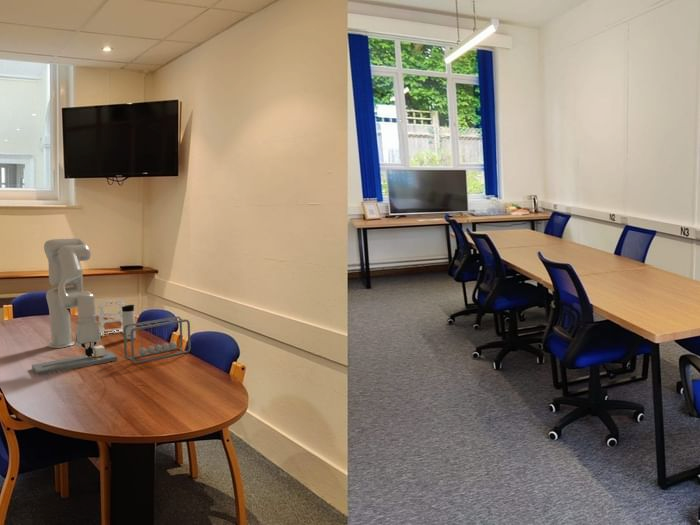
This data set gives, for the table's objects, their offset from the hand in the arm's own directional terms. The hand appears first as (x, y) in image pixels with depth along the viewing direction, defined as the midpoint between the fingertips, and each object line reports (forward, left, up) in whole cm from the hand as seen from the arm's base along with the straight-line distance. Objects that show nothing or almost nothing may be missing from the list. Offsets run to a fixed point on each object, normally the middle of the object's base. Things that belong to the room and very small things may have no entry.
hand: (89, 355), depth 246 cm
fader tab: (0, +5, -1) cm, 5 cm away
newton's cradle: (+13, +29, -3) cm, 32 cm away
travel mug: (-30, +29, -3) cm, 42 cm away
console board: (0, -6, -3) cm, 7 cm away
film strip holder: (-51, +26, -3) cm, 57 cm away
